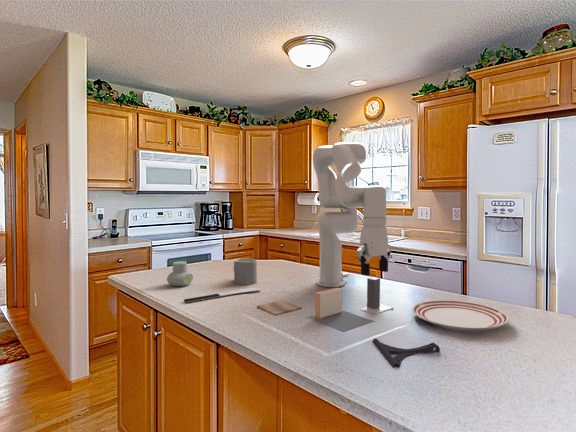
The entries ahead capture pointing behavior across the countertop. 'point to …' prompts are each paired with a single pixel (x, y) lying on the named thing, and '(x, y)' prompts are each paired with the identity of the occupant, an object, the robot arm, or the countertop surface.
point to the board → (279, 307)
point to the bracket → (402, 351)
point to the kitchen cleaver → (219, 295)
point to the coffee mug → (245, 271)
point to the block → (328, 303)
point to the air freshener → (180, 274)
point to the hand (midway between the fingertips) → (374, 273)
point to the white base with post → (374, 297)
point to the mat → (343, 321)
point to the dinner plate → (460, 315)
